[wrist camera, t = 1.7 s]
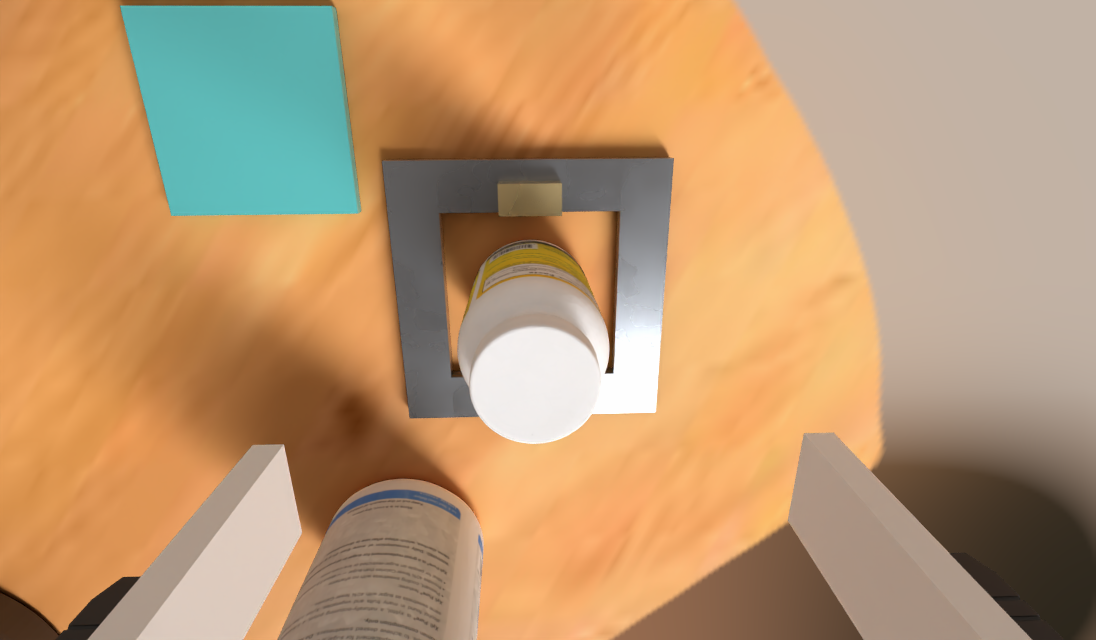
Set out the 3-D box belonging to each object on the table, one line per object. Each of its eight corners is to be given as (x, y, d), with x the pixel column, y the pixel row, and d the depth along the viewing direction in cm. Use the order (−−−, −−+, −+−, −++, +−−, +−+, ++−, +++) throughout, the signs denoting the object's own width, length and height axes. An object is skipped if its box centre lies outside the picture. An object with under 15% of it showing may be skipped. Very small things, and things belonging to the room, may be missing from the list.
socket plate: (412, 411, 31) (405, 429, 30) (385, 159, 27) (375, 162, 25) (652, 405, 32) (660, 423, 30) (669, 157, 27) (680, 160, 25)
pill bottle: (540, 366, 31) (548, 492, 20) (450, 303, 29) (410, 404, 19) (612, 283, 29) (659, 373, 19) (520, 212, 28) (518, 267, 17)
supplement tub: (301, 521, 34) (147, 797, 20) (421, 444, 32) (343, 687, 18) (402, 613, 37) (329, 910, 23) (516, 547, 35) (511, 824, 21)
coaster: (178, 213, 27) (171, 215, 26) (129, 8, 24) (119, 5, 23) (361, 211, 27) (357, 213, 27) (336, 8, 24) (331, 6, 24)
